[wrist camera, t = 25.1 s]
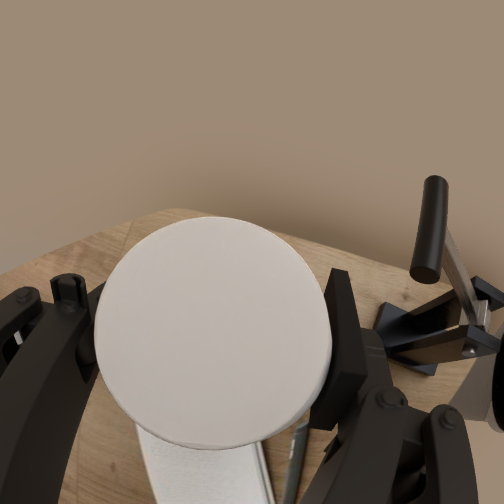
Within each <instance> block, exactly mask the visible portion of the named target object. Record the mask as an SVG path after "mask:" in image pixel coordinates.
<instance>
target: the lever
mask: <svg viewBox="0 0 504 504" xmlns="http://www.w3.org/2000/svg"><path fill="white" fill-rule="evenodd" d="M448 189H449V186H448V183H447V182H446V180H445V179H444V178H442V177H441V176H437V175H432V176H429V177H428V178H427V179H426V180H425V182H424V191H423V199H422V206H421V214H420V221H419V226H418V233H417V238H416V243H415V248H414V253H413V258H412V263H411V267H410V271H409V273H410V276H411V277H412V278H413V279H414V280H415V281H417V282H419V283H423V284H434V283H436V282H438V281H439V279H440V275H441V268H442V267H443V269H444V270H445V272H446V274H447V276H448V278H449V280H450V282H451V284H452V286H453V288H454V290H455V292H456V295H457V297H458V299H459V301H460V303H461V305H462V310H461V315H460V321H459V327H461V326H464V325H467V324H471V325H473V326H475V327H477V328H479V329H480V330H482V331H484V332H486V333H488V331H489V326H490V319H491V312H490V307H489V303H488V300H477V298H476V295H475V292H474V289H473V286H472V283H471V281H470V278H469V276H468V273H467V270H466V268H465V265H464V263H463V261H462V259H461V256H460V254H459V252H458V249H457V247H456V245H455V243H454V240H453V238H452V236H451V234H450V232H449V230H448V228H447V214H448Z"/></svg>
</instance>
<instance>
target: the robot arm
mask: <svg viewBox="0 0 504 504" xmlns="http://www.w3.org/2000/svg"><path fill="white" fill-rule="evenodd" d="M106 282H107V281H105V282H104V283H102V284H101V285H100V286H98V287H97V288H95V289H94V290H92V291H91V292H90V293H88V294H87V290H86V283H85V279H84V278H83V277H82V276H81V275H78V274H72V273H67V274H61V275H58V276H56V277H54V278H52V279H51V280H50V284H51V289H52V294H53V298H54V304H52V303H48V302H43V301H41V298H40V294H39V290H37V289H36V288H34V287H27V286H26V287H22V288H19V289H17V290H15V291H14V292H12V293H11V294H9V295H8V296H6V297H5V298H4V299H2V300H1V301H0V504H58V500H59V495H60V491H61V486H62V482H63V478H64V474H65V470H66V467H67V463H68V459H69V456H70V452H71V449H72V446H73V442H74V439H75V436H76V433H77V430H78V427H79V424H80V421H81V418H82V415H83V412H84V409H85V407H86V404H87V401H88V398H89V396H90V393H91V390H92V388H93V385H94V383H95V380H96V378H97V375H98V373H99V370H100V369H99V366H98V362H97V357H96V351H95V344H94V325H95V315H96V311H97V307H98V303H99V300H100V296H101V293H102V291H103V288H104V286H105V284H106ZM323 296H324V299H325V303H326V307H327V311H328V317H329V323H330V329H331V335H332V356H331V361H330V367H329V371H328V375H327V378H326V380H325V383H324V386H323V388H322V389H321V391H320V393H319V395H318V397H317V399H316V400H315V402H314V403H313V404H312V406H311V409H310V419H309V428H314V429H320V430H328V431H332V429H333V428H334V427H335V425H336V424H337V422H338V434H337V435H336V436H335V437H334V439H333V440H332V441H331V442H330V444H329V445H328V446H327V447H326V448H325V450H324V452H326V454H325V456H324V458H323V460H322V462H321V464H320V466H319V468H318V470H317V472H316V474H315V476H314V478H313V480H312V481H311V483H310V485H309V487H308V489H307V490H306V492H305V494H304V495H303V497H302V499H301V500H300V502H299V504H479V503H478V492H477V484H476V476H475V469H474V464H473V458H472V453H471V448H470V443H469V439H468V434H467V430H466V426H465V422H464V420H463V417H462V415H461V414H460V413H459V412H458V410H457V409H455V408H454V407H452V406H450V405H446V404H442V405H438V406H436V407H435V408H434V409H433V410H432V411H431V412H430V413H427V412H424V411H421V410H418V409H415V408H412V407H410V406H408V400H407V398H406V397H405V395H404V394H403V393H402V392H401V391H400V390H399V389H398V388H396V387H394V386H393V382H392V377H391V373H390V369H389V365H388V361H387V359H386V353H385V351H384V345H383V342H382V339H381V338H380V336H379V335H378V334H377V333H376V331H375V330H370V329H365V328H360V324H359V319H358V314H357V309H356V305H355V300H354V296H353V291H352V287H351V283H350V279H349V275H348V271H344V270H340V269H335V268H332V270H331V273H330V276H329V279H328V283H327V286H326V289H325V292H324V295H323ZM18 330H19V333H20V336H21V338H22V341H23V343H22V344H20V345H18V344H17V342H16V340H15V337H14V334H15V333H16V332H17V331H18ZM425 469H426V470H425Z"/></svg>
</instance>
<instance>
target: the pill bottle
mask: <svg viewBox="0 0 504 504" xmlns="http://www.w3.org/2000/svg"><path fill="white" fill-rule="evenodd" d="M94 344H95V351H96V357H97V362H98V366H99V369H100V372H101V374H102V377H103V380H104V382H105V384H106V386H107V388H108V390H109V392H110V393H111V395H112V396H113V398H114V399H115V401H116V402H117V404H118V405H119V407H120V408H121V409H122V410H123V411H124V412H125V413H126V414H127V415H128V416H129V417H130V418H131V419H132V420H133V421H134V422H135V423H136V424H138V425H139V426H140V427H142V428H143V429H144V430H146V431H147V432H149V433H151V434H152V435H154V436H156V437H158V438H160V439H162V440H165V441H167V442H169V443H172V444H176V445H179V446H182V447H186V448H191V449H197V450H224V449H233V448H237V447H242V446H245V445H248V444H251V443H254V442H258V441H262V440H264V439H267V438H270V437H272V436H274V435H276V434H278V433H280V432H282V431H284V430H285V429H287V428H288V427H290V426H291V425H292V424H294V423H295V422H296V421H297V420H298V419H300V418H301V417H302V416H303V415H304V414H305V413H306V412H307V411H308V409H309V408H310V407H311V406H312V404H313V403H314V402H315V400H316V399H317V397H318V395H319V393H320V391H321V389H322V388H323V386H324V383H325V380H326V378H327V375H328V371H329V367H330V361H331V356H332V335H331V329H330V323H329V317H328V311H327V307H326V303H325V299H324V296H323V293H322V291H321V288H320V286H319V284H318V282H317V280H316V278H315V276H314V274H313V272H312V271H311V269H310V268H309V267H308V265H307V264H306V262H305V261H304V260H303V259H302V257H301V256H300V255H299V254H298V253H297V252H296V251H295V250H294V249H293V248H292V247H291V246H290V245H288V244H287V243H286V242H285V241H283V240H282V239H281V238H279V237H278V236H276V235H275V234H273V233H271V232H269V231H267V230H266V229H264V228H261V227H259V226H257V225H254V224H252V223H249V222H246V221H242V220H238V219H232V218H225V217H200V218H193V219H187V220H183V221H180V222H176V223H174V224H171V225H168V226H166V227H163V228H161V229H159V230H157V231H155V232H153V233H152V234H150V235H148V236H147V237H146V238H144V239H143V240H141V241H140V242H139V243H137V244H136V245H135V246H134V247H133V248H132V249H131V250H129V251H128V252H127V253H126V254H125V256H124V257H123V258H122V259H121V260H120V262H119V263H118V264H117V265H116V267H115V269H114V270H113V272H112V273H111V275H110V276H109V278H108V280H107V282H106V284H105V286H104V288H103V291H102V293H101V296H100V300H99V303H98V307H97V311H96V315H95V325H94Z"/></svg>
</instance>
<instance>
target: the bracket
mask: <svg viewBox="0 0 504 504" xmlns="http://www.w3.org/2000/svg"><path fill="white" fill-rule="evenodd" d="M470 281H471V283H472V286H473V289H474V292H475V295H476V298H477V300H488V303H489V307H490V312H492V311H495V310H497V309H499V308H502V307H504V293H503V292H501V291H500V290H498V289H496V288H495V287H493V286H492V285H490V284H489V283H487V282H486V281H484V280H483V279H481V278H479V277H478V276H475V277H473V278H471V279H470ZM461 310H462V305H461V303H460V301H459V299H458V297H457V295H456V292H455V290H454V289H452V290H450V291H449V292H447V293H445V294H443V295H441V296H439V297H438V298H436V299H434V300H432V301H430V302H428V303H426V304H424V305H422V306H420V307H418V308H416V309H414V310H412V311H410V312H407V311H404V310H402V309H400V308H398V307H396V306H394V305H392V304H390V303H387V302H385V303H383V304H381V307H380V310H379V313H378V315H377V318H376V321H375V324H374V327H373V330H375V331H376V333H377V334H378V335H379V336H380V338H381V339H382V342H383V345H384V351H385V353H386V359H387V360H388V361H390V362H393V363H395V364H398V365H400V366H403V367H405V368H408V369H410V370H413V371H415V372H418V373H421V374H423V375H426V376H434V375H435V372H436V368H437V365H438V363H445V362H452V361H458V360H464V359H469V358H475V357H480V356H485V355H490V354H494V353H498V352H499V350H500V345H501V340H499V339H497V338H495V337H494V336H492V335H490V334H488V333H486V332H484V331H482V330H480V329H479V328H477V327H475V326H473V325H471V324H467V325H464V326H461V327H458V328H455V329H452V330H449V331H447V330H445V329H447V328H450V327H453V326H456V325H459V321H460V315H461Z"/></svg>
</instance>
